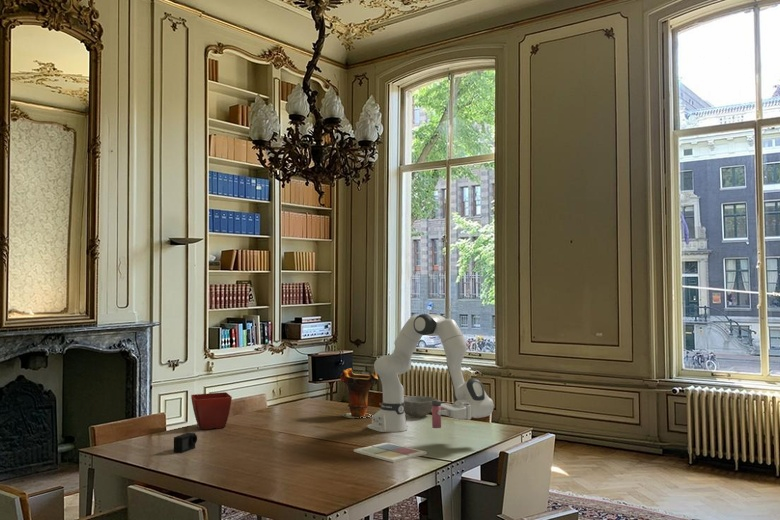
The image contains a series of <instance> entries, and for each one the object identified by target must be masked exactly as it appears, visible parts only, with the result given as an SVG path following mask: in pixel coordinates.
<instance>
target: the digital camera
mask: <svg viewBox="0 0 780 520" xmlns="http://www.w3.org/2000/svg"><path fill="white" fill-rule="evenodd" d="M197 442H198V435H197V434H196V432H186V433H183V434H180V435H177V436H174V437H173V453H174V454H175V453H176V454H183V453H185V452H186V453H187V452H188V451H191V450H193V449H196V443H197Z"/></svg>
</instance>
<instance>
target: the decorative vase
mask: <svg viewBox="0 0 780 520" xmlns="http://www.w3.org/2000/svg"><path fill="white" fill-rule="evenodd" d="M378 377H379V376H378V374H377V373H376V372H375V371H373V373H369V374H360V373H354V372H353V369H352V367H350V368H347V369H343V370H342V373H341V374H340V378H339V380H340V381H341V382H342V383H344V384H345V385H346V386H347V388H348V405H347V407H349V411H350V412H348V413H344V414H342V416H343V417H345V418H349V419H355V418H357V419H367V418H366V417H363V418H361V417H362V416H365V414H367V410H368V408H369V406H368V398H369V392H370V389H371V388H372V387H373V386H377V385H378V383H379V378H378ZM347 410H348V409H347V408H346V411H347ZM368 414H369V415H370V416H371V415H372V414H370V413H368ZM370 416H368V417H370ZM359 417H360V418H359ZM370 418H371V417H370Z"/></svg>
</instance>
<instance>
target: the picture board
mask: <svg viewBox="0 0 780 520" xmlns="http://www.w3.org/2000/svg"><path fill="white" fill-rule="evenodd" d="M353 452H354V453H357V454H360V455H365V456H369V457H372V458H376V459H380V460H383V461H387V462H391V463H396V462H400V461H404V460H408V459H413V458H417V457H421V456H424V455H427V453H428V452H427V451H425V450H424V451H423V450H421V449H417V448H412V447H407V446H402V445H398V444H395V443H390V442H384V443H383V442H382V443H378V444H373V445H370V446H365V447H359V448H354V449H353Z"/></svg>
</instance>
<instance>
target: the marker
mask: <svg viewBox="0 0 780 520" xmlns="http://www.w3.org/2000/svg"><path fill="white" fill-rule="evenodd" d="M441 404H442V400H440V399H437V400H432V412H431V415H432V416H431V421H432V422H431V426H432V427H431V428H433V429H441V428H442V415H438V414H437V410H441Z"/></svg>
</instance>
